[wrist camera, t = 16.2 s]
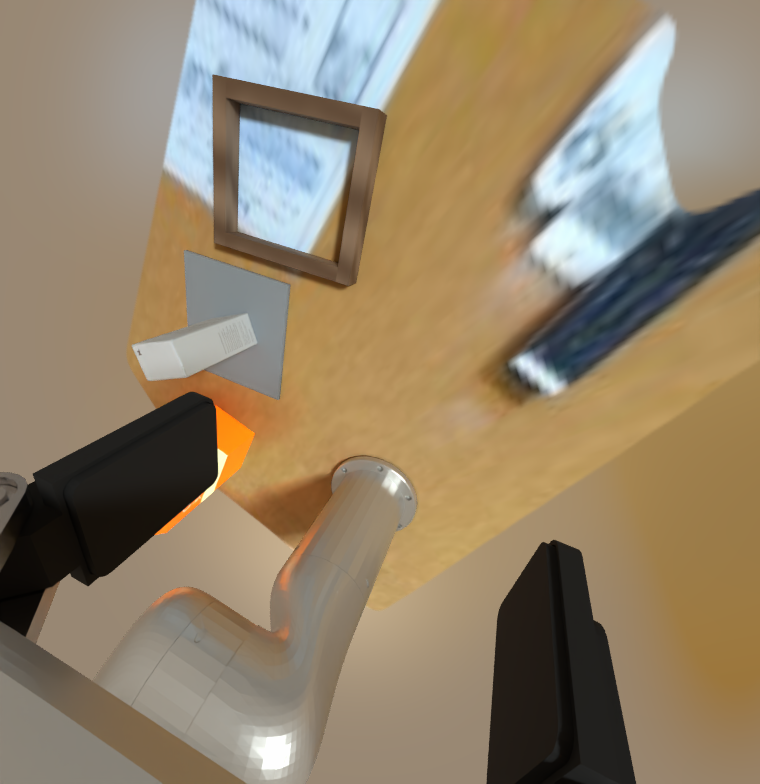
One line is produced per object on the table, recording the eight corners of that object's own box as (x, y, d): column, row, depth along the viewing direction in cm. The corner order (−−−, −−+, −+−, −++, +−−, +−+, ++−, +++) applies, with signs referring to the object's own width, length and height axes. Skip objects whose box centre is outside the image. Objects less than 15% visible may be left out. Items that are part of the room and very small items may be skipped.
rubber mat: (279, 398, 50) (277, 400, 49) (191, 363, 53) (189, 363, 52) (290, 284, 42) (288, 285, 42) (186, 250, 45) (184, 250, 45)
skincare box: (224, 348, 49) (146, 382, 39) (213, 317, 47) (128, 344, 37) (259, 344, 47) (186, 379, 36) (249, 311, 45) (169, 338, 35)
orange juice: (255, 433, 54) (134, 530, 37) (240, 468, 59) (126, 569, 42) (214, 404, 55) (76, 486, 38) (203, 441, 59) (75, 529, 42)
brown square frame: (355, 283, 39) (348, 285, 37) (226, 241, 43) (214, 242, 41) (386, 115, 32) (379, 109, 30) (227, 81, 35) (212, 74, 33)
